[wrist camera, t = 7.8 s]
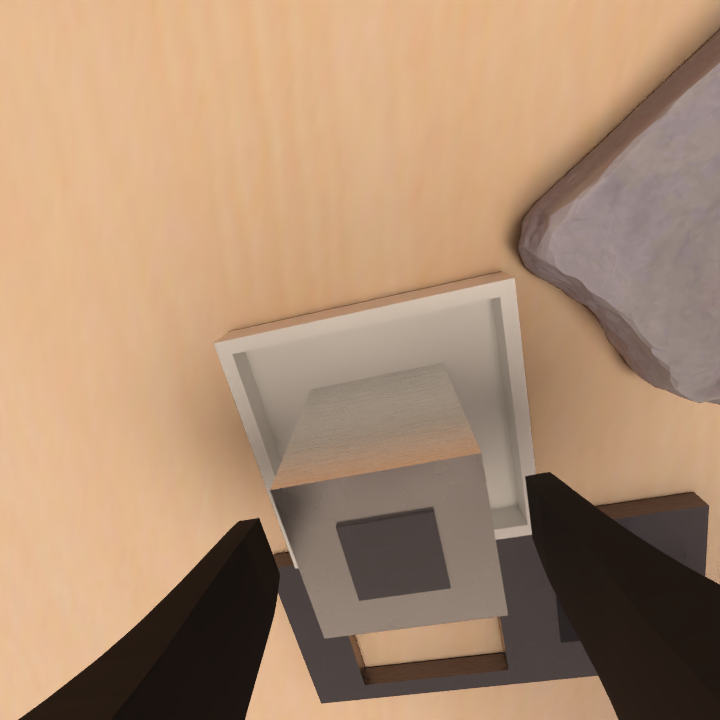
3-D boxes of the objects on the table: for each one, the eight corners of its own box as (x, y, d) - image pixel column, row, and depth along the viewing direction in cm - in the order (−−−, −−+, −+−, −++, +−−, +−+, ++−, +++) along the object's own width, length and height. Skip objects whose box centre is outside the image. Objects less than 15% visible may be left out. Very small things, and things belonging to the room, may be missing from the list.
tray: (528, 507, 17) (542, 533, 16) (301, 541, 18) (295, 568, 17) (501, 271, 14) (514, 278, 12) (229, 331, 15) (213, 343, 14)
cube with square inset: (463, 476, 16) (509, 618, 10) (343, 497, 17) (323, 642, 11) (442, 362, 15) (482, 455, 9) (310, 389, 15) (268, 493, 10)
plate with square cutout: (687, 647, 19) (701, 666, 18) (323, 686, 21) (321, 704, 21) (693, 492, 16) (710, 506, 16) (273, 554, 19) (268, 570, 18)
